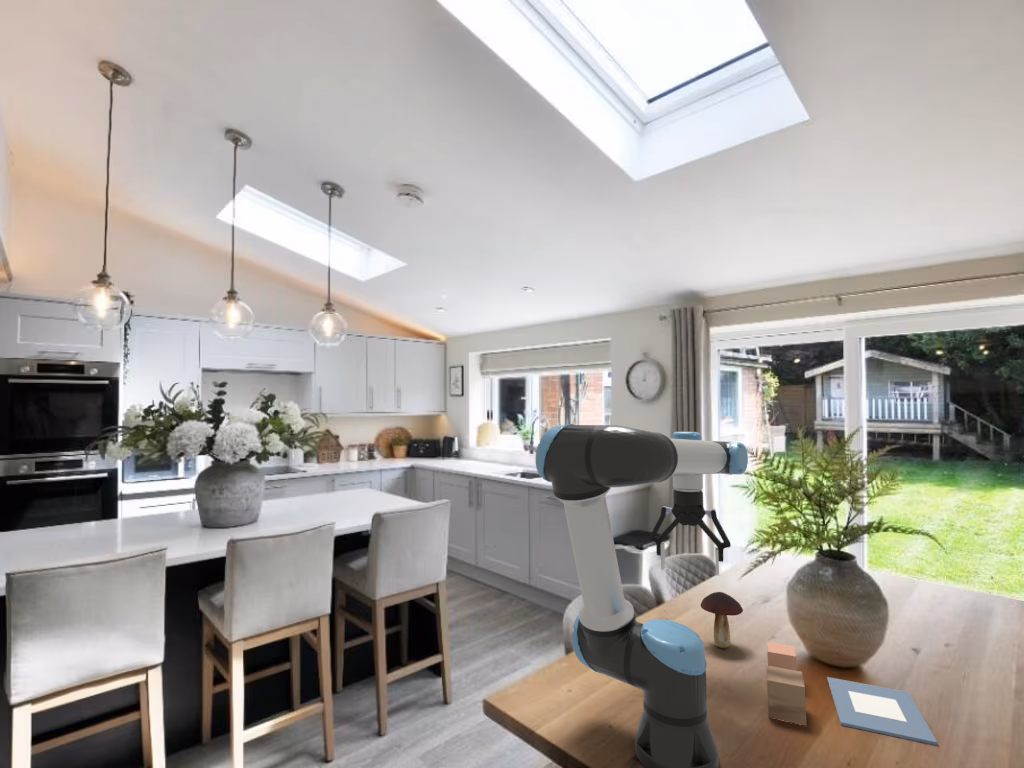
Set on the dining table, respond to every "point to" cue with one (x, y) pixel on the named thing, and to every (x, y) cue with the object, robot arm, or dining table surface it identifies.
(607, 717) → the dining table surface
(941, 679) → the dining table surface
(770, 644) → the terracotta block
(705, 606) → the decorative mushroom
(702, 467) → the robot arm
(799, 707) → the walnut block
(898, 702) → the board
